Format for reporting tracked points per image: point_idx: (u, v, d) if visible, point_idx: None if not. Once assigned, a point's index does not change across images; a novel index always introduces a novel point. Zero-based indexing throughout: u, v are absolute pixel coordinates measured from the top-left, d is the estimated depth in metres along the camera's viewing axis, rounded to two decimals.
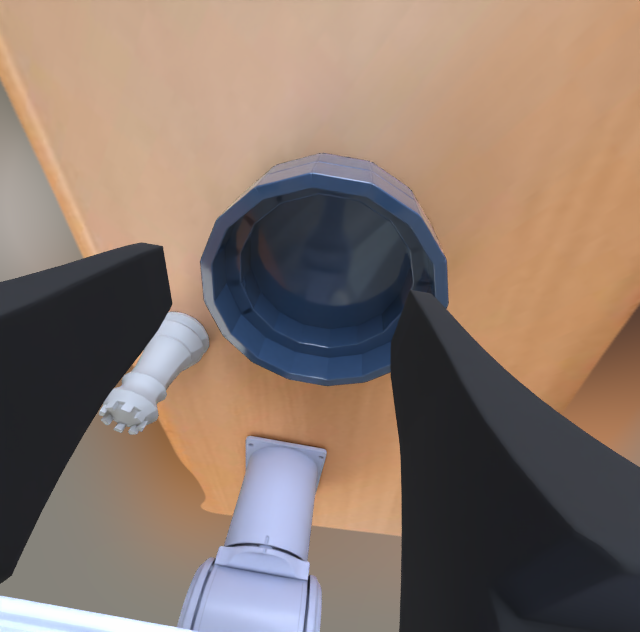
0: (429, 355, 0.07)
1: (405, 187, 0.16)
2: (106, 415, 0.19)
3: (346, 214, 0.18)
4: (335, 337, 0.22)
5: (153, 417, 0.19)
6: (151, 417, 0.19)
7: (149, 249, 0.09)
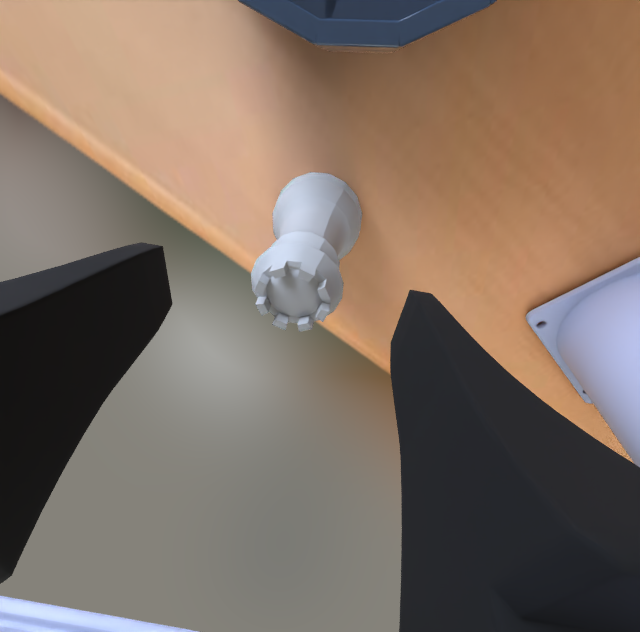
0: (429, 355, 0.07)
1: None
2: (276, 316, 0.12)
3: None
4: None
5: (331, 271, 0.11)
6: (328, 270, 0.11)
7: (149, 249, 0.09)
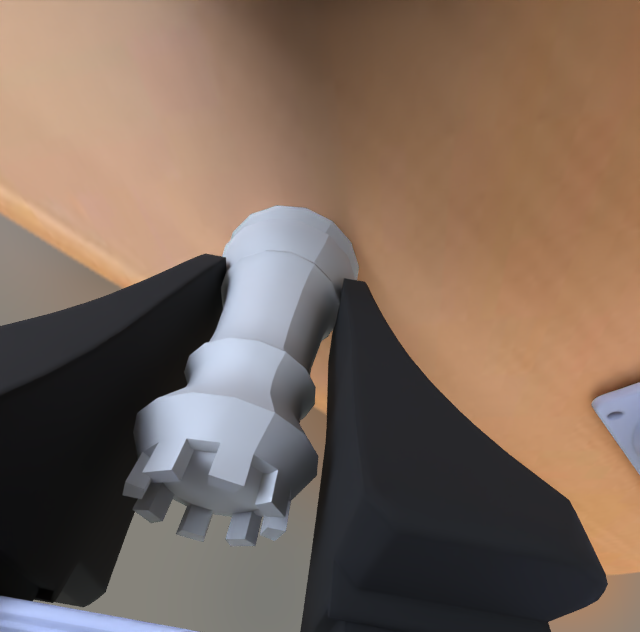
0: (344, 340, 0.07)
1: None
2: (186, 512, 0.06)
3: None
4: None
5: (289, 447, 0.05)
6: (282, 450, 0.05)
7: (217, 261, 0.09)
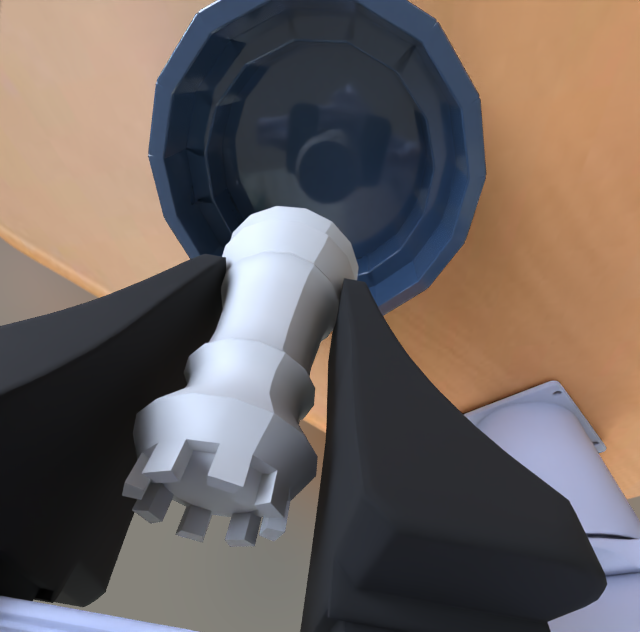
0: (344, 340, 0.07)
1: None
2: (185, 512, 0.06)
3: (278, 103, 0.14)
4: (402, 234, 0.16)
5: (289, 448, 0.05)
6: (280, 450, 0.05)
7: (216, 261, 0.09)
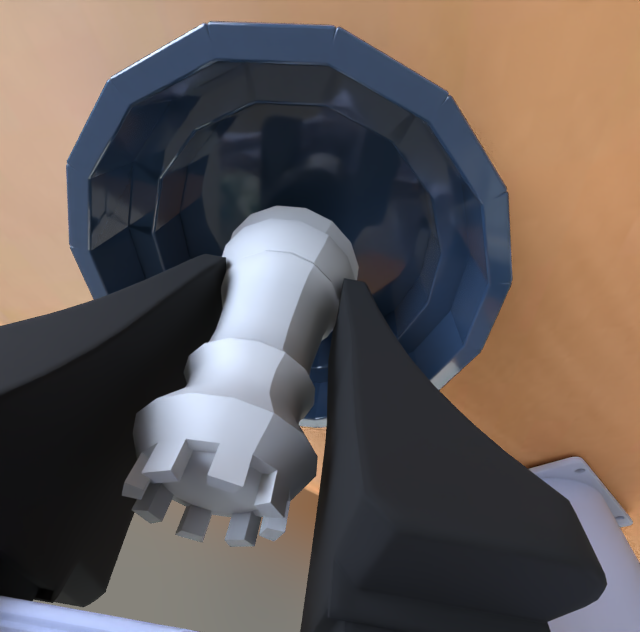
0: (344, 340, 0.07)
1: None
2: (185, 512, 0.06)
3: (245, 166, 0.11)
4: (402, 316, 0.13)
5: (289, 448, 0.05)
6: (281, 450, 0.05)
7: (216, 261, 0.09)
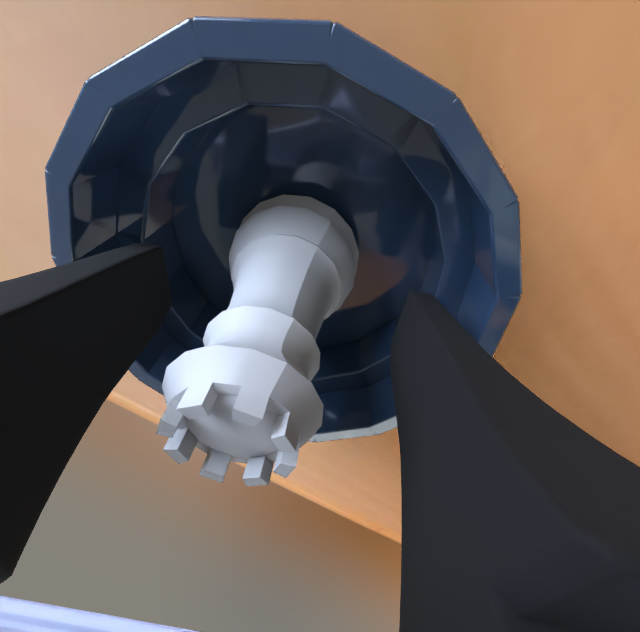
0: (429, 355, 0.07)
1: None
2: (207, 457, 0.07)
3: (239, 170, 0.11)
4: None
5: (299, 394, 0.06)
6: (292, 394, 0.06)
7: (149, 249, 0.09)
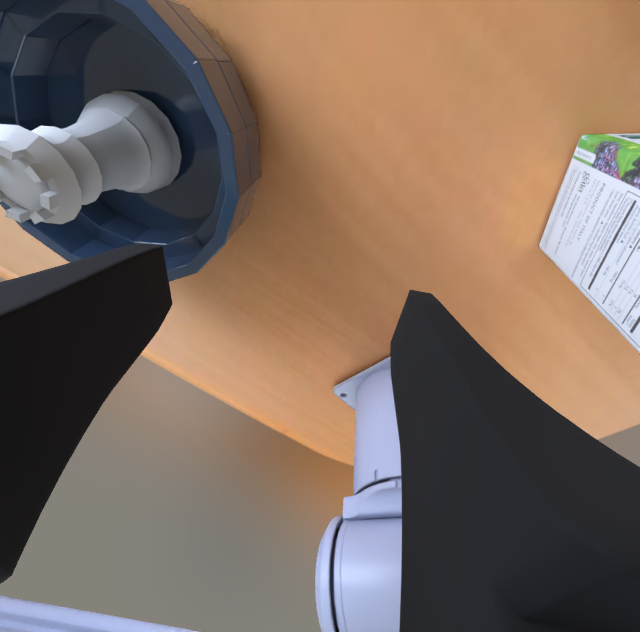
0: (429, 355, 0.07)
1: None
2: None
3: (86, 75, 0.15)
4: None
5: (49, 155, 0.11)
6: (43, 153, 0.10)
7: (149, 249, 0.09)
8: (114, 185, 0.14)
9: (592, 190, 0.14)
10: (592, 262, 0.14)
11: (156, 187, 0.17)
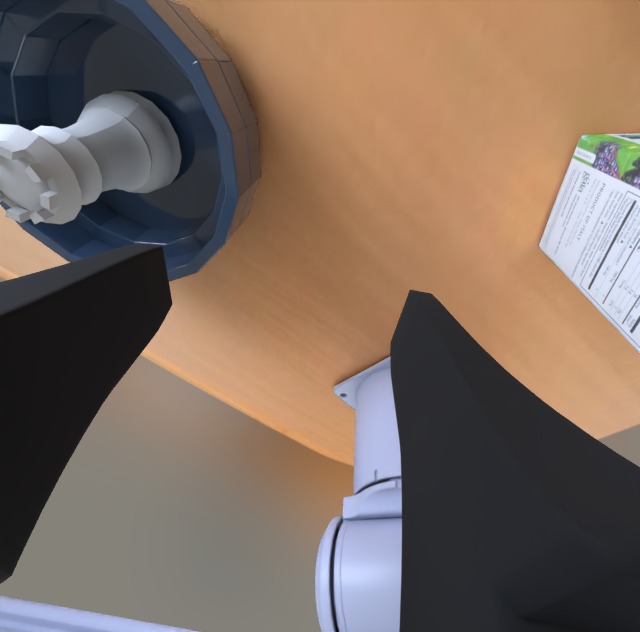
0: (429, 355, 0.07)
1: None
2: None
3: (86, 75, 0.15)
4: None
5: (49, 155, 0.11)
6: (43, 153, 0.10)
7: (149, 249, 0.09)
8: (114, 185, 0.14)
9: (592, 190, 0.14)
10: (592, 262, 0.14)
11: (156, 187, 0.17)
